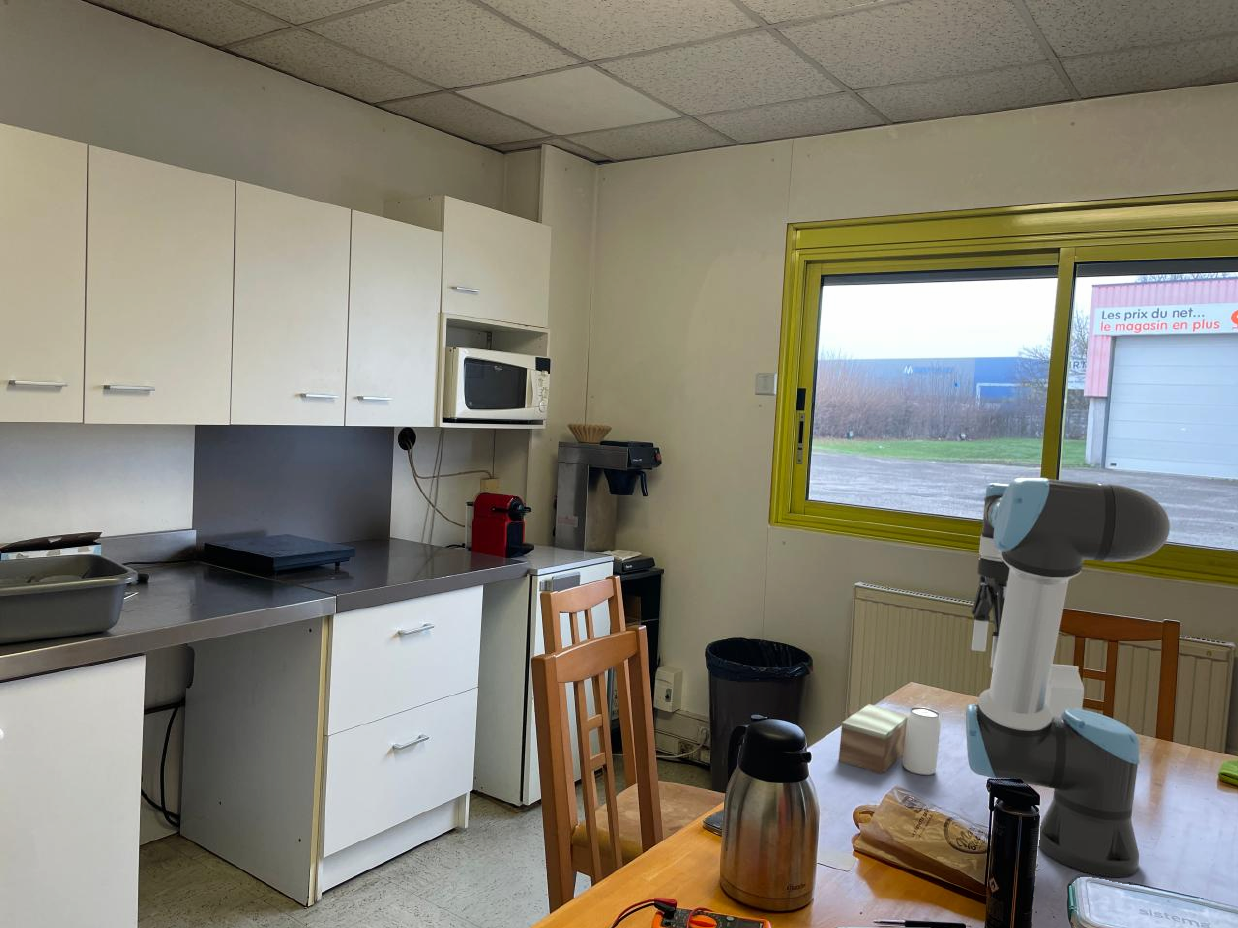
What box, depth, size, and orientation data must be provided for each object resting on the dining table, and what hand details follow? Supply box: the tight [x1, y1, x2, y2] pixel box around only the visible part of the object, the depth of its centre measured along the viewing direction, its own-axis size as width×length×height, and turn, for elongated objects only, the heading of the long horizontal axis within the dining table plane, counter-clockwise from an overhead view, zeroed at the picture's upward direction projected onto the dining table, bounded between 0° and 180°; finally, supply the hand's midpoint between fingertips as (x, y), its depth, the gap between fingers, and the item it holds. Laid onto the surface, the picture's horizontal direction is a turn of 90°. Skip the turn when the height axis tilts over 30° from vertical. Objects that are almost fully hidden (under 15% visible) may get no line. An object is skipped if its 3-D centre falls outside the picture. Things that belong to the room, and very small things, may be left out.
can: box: [902, 706, 942, 776], centre depth 182 cm, size 6×6×12 cm
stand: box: [838, 703, 909, 774], centre depth 188 cm, size 16×9×8 cm, turn 145°
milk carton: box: [1045, 663, 1085, 718], centre depth 200 cm, size 7×7×19 cm
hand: (987, 659), depth 188 cm, fingers open, 13 cm apart
